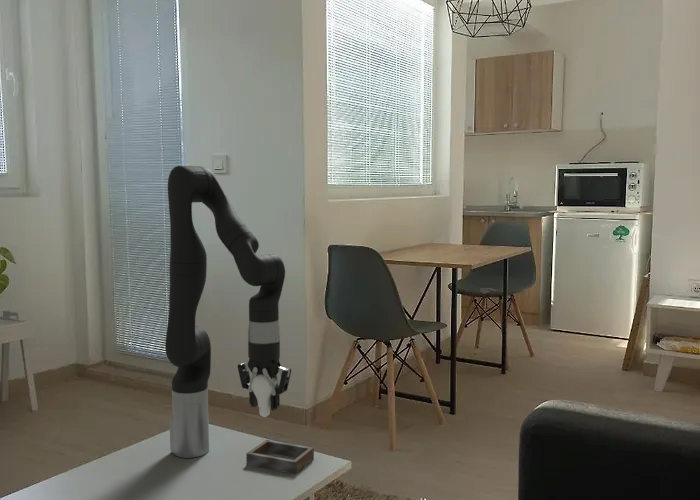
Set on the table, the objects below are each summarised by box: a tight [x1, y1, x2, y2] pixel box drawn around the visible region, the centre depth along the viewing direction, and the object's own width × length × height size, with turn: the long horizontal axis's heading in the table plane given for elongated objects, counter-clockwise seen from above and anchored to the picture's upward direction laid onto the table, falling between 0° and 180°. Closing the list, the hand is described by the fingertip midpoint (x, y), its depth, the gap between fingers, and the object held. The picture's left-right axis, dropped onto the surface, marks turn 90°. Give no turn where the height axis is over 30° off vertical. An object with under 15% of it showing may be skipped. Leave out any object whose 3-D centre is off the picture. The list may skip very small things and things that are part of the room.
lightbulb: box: [251, 375, 277, 418], centre depth 164 cm, size 6×6×11 cm
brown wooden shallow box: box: [245, 439, 315, 475], centre depth 174 cm, size 14×10×3 cm
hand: (264, 407), depth 164 cm, fingers closed on lightbulb, 5 cm apart
